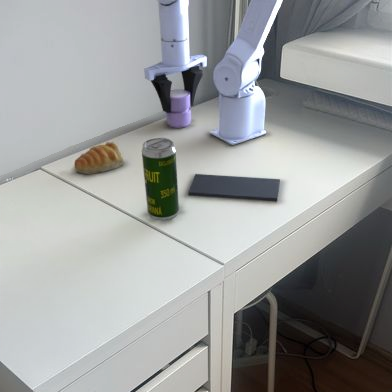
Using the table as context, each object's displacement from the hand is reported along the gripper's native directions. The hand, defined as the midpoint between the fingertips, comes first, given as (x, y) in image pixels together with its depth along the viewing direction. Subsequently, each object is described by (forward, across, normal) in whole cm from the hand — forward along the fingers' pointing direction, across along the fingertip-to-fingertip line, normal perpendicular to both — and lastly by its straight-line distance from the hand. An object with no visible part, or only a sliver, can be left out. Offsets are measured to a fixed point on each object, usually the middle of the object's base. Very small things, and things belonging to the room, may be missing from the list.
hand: (178, 108), depth 112 cm
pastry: (+4, +24, +8) cm, 26 cm away
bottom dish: (+3, 0, 0) cm, 3 cm away
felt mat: (+3, +9, +32) cm, 33 cm away
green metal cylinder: (+4, +24, +31) cm, 39 cm away
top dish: (0, 0, 0) cm, 0 cm away
